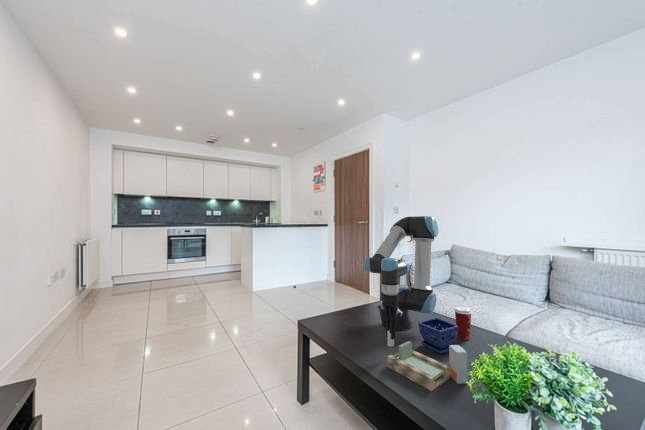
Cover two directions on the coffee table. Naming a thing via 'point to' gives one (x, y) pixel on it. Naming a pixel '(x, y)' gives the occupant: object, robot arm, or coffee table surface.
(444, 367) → the oak box
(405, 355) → the lid
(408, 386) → the coffee table surface
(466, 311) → the coffee cup
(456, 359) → the skincare box
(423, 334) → the flower pot
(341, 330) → the coffee table surface
